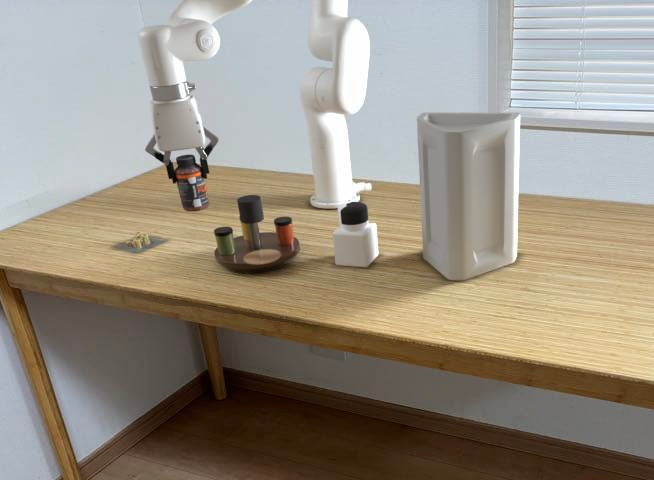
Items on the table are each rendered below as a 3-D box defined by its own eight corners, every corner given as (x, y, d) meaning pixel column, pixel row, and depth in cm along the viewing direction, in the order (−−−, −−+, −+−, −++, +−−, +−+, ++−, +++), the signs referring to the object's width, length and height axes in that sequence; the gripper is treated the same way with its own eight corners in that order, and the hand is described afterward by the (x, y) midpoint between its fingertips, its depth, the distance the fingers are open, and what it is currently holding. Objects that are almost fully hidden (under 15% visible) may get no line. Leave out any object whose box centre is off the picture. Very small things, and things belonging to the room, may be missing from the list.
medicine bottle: (379, 255, 163) (374, 199, 157) (367, 268, 158) (362, 211, 151) (348, 252, 165) (342, 197, 159) (335, 265, 160) (328, 209, 153)
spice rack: (210, 246, 169) (199, 193, 163) (290, 232, 173) (282, 180, 167) (222, 277, 154) (211, 220, 147) (310, 261, 158) (302, 205, 152)
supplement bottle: (206, 211, 169) (195, 159, 162) (180, 213, 169) (167, 161, 163) (212, 202, 174) (201, 151, 167) (187, 204, 174) (174, 154, 168)
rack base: (286, 245, 171) (285, 239, 171) (292, 267, 161) (291, 260, 160) (227, 254, 169) (226, 247, 169) (230, 276, 159) (228, 269, 158)
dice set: (140, 238, 181) (138, 230, 180) (155, 242, 179) (153, 234, 178) (123, 245, 178) (121, 237, 177) (137, 249, 175) (135, 241, 174)
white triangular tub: (408, 277, 152) (400, 131, 137) (428, 249, 164) (422, 112, 149) (504, 283, 147) (506, 132, 132) (517, 254, 159) (520, 112, 144)
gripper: (211, 83, 162) (228, 169, 172) (128, 94, 160) (150, 180, 170) (213, 90, 156) (230, 178, 166) (126, 101, 154) (149, 190, 164)
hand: (190, 178), depth 168 cm, fingers closed on supplement bottle, 6 cm apart
